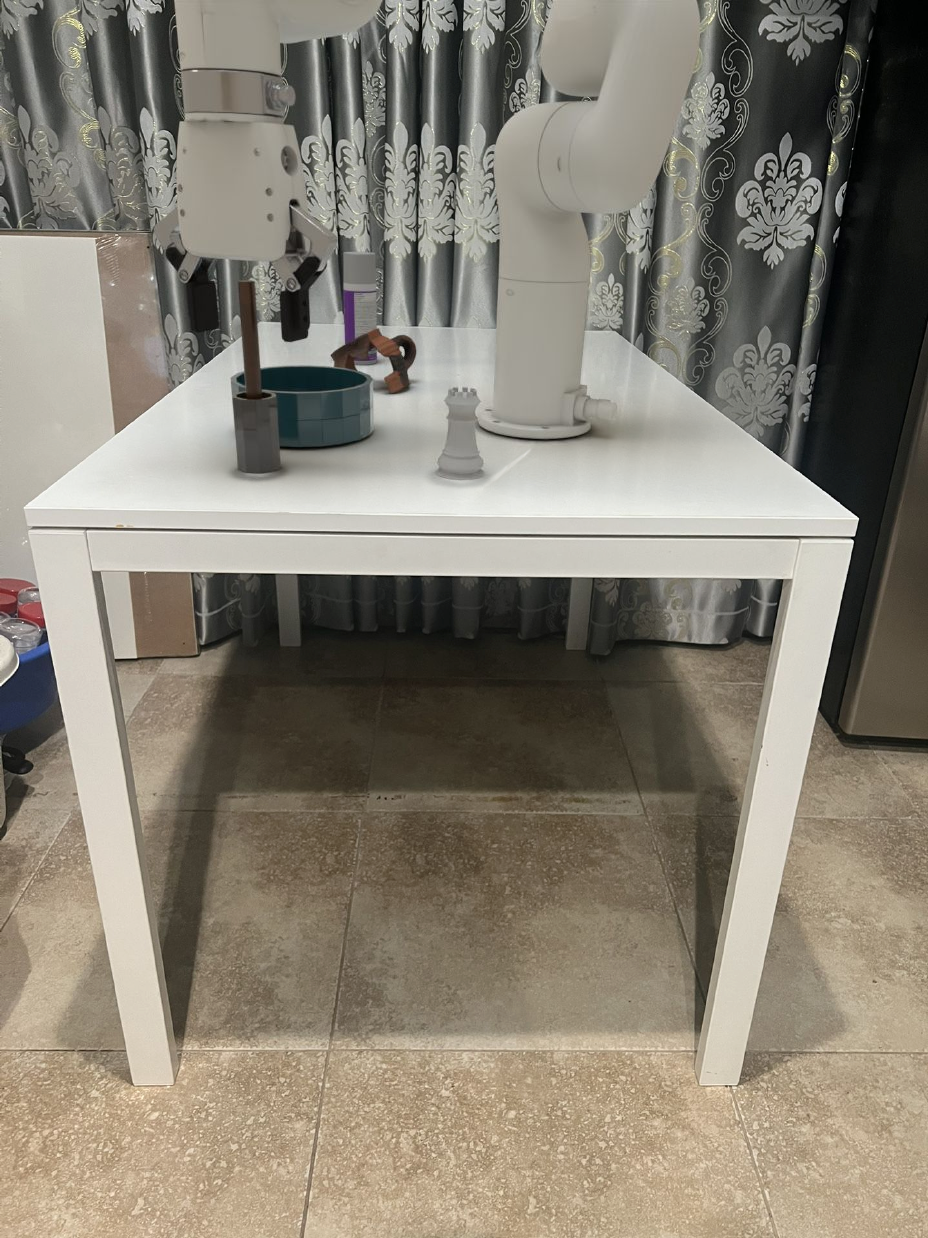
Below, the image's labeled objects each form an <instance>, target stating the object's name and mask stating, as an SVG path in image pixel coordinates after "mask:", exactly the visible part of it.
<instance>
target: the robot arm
mask: <svg viewBox="0 0 928 1238" xmlns="http://www.w3.org/2000/svg"><path fill="white" fill-rule="evenodd" d="M173 1H174V13H175V22H176V23H175V24H176V32H177V34H176V35H177V44H178V45H177V46H178V55H179V56H178V57H179V67H180V78H181V90H182V101H183V112H184V120H183V121H179V125H178V133H177V134H178V135H177V144H176V145H177V146H176V147H177V148H176V205H177V206H176V207H175V208H174V209H172V210H171V211H169V213H168V214H166V215H165V216H164V217H162V219H160V220H159V221H158V222H157V223H156V224H154V226H153V233H154V235H155V237H156V239H157V241H158V242H159V244H160V246H161V248H162V249H163V251H165V258H166V260H167V261H168V262H169V264H171V266H172V268H174V270H175V271H176V272H177V278H178V280H179V281H180V282H181V283H183V284H185V292H186V300H187V301H186V302H187V312H188V317H189V325H190V330H191V332H192V333H197V334H199V333H204V332H205V333H206V332H209V331H214V330H215V331H216V330H217V329H218V328H219V327H220V318H219V307H218V293H217V285H216V282H215V280H210V278H209V277H210V275H211V274H212V273H213V270H214V268H215V266H216V264H217V262H218V260H219V259H220V260H221V259H222V260H232V261H233V260H234V261H249V262H262V263H263V262H268V263H269V262H270V264H271V266H272V267H273V269H274V270H275V272H276V274H277V276H278V277H279V278H280V280H281V281H282V283H283V285H284V286H285V287H284V288H285V290H280V293H279V311H280V312H279V313H280V332H281V340H282V341H284V342H285V343H294V342H297V341H302V340H306V339H308V337H309V329H310V327H311V310H310V290H312V289H313V288H314V287H315V286H316V285H315V284H316V281H317V280H319V278H320V277H321V276H322V275H323V273H324V272H325V270H326V269H327V267H328V261H329V260H330V259H331V257H332V254H333V253H334V250H335V248H336V246H337V244H338V237H337V235H336V234H335V233H334V232H333V231H331V230H330V229H329V228H327V227H326V226H325V225H324V224H322V222H320V221H318V220H317V219H316V218H315V217H314V216H313V215H311V214H310V213H309V202H308V194H307V187H306V179H305V173H304V165H303V161H302V157H301V155H302V154H301V151H300V147H299V142H298V139H297V134H296V130H295V127H294V125H292V124H285V122H284V119H285V118H284V117H285V116H286V115H285V114H286V113H285V111H286V110H285V108H286V107H292V106H294V105H295V104H296V97H297V96H296V90H295V89H294V87H293V86H292V85H285V84H284V78H283V77H282V58H281V57H282V55H281V44H295V43H296V44H297V43H300V42H306V41H311V40H318V39H327V38H333V37H338V36H343V35H346V34H350V33H353V32H355V31H357V30H358V29H361V28H362V27H364V26H365V25H367V24H368V23H369V22H370V21H371V20H372V19H373V18H374V16H375V15H376V14H377V12H378V11H379V9H380V8H381V5H382V4H383V1H384V0H173ZM543 30H544V31H543V34H542V40H541V45H540V56H539V57H540V60H539V61H540V67H541V71H542V74H543V77H544V79H545V81H546V82H547V84H548V85H549V86H551V88H552V89H554V90H555V91H557V92H559V93H561V94H563V95H567V96H572V97H579V98H580V97H583V98H593V97H598V98H597V100H583V101H581V100H573V101H570V100H569V101H553V102H543V103H537V104H533V105H531V106H527V107H525V108H523V109H521V110H519V111H517V112H516V113H515V114H513V115H512V116H510V118H509V119H508V120H507V121H506V123H505V124H504V125H503V127H502V128H501V129H500V132H499V135H498V136H497V138H496V142H495V145H494V149H493V162H492V163H493V179H494V186H495V194H496V201H497V209H498V222H499V226H498V227H499V250H498V251H499V253H498V255H499V257H498V258H499V259H498V279H497V280H498V281H497V302H496V303H497V306H496V325H495V351H494V372H493V390H492V391H493V394H492V406H488V407H485V408H483V409H481V410H480V411H479V412H478V416H477V418H478V419H477V423H478V425H479V426H480V427H481V428H483V429H484V430H486V431H489V432H491V433H495V434H499V435H502V436H506V437H514V438H521V439H522V438H523V439H534V440H535V439H536V440H540V439H541V440H553V439H564V438H565V439H566V438H571V437H577V436H580V435H584V434H586V433H587V432H589V431H590V430H591V425H592V419H597V420H600V421H609V422H614V421H615V420H616V416H617V411H618V405H617V402H612V399H604V398H591V395H588V385H587V384H581V381H582V380H581V379H582V368H583V356H584V344H585V334H586V333H585V331H586V322H587V321H586V320H587V310H588V309H587V308H588V295H589V285H590V275H591V264H592V263H591V261H592V259H591V247H590V241H589V236H588V233H587V229H586V226H585V222H584V219H583V216H582V213H585V214H598V215H600V214H603V215H613V214H614V215H615V214H621V213H625V212H629V211H630V210H632V209H634V208H636V207H637V206H638V205H640V204H641V203H642V202H643V201H644V199H645V198H646V197H647V196H648V194H649V193H650V192H651V190H652V188H653V186H654V184H655V183H656V180H657V178H658V176H659V174H660V172H661V168H662V166H663V163H664V160H665V157H666V156H667V155H666V154H667V151H668V149H669V146H670V143H671V140H672V137H673V135H674V131H675V128H676V125H677V122H678V119H679V117H680V112H681V111H682V107H683V104H684V101H685V98H686V95H687V92H688V89H689V86H690V83H691V80H692V77H693V74H694V70H695V67H696V64H697V59H698V54H699V49H700V41H701V16H700V9H699V4H698V1H697V0H552V4H551V7H550V9H549V13H548V17H547V19H546V24H545V26H544V29H543ZM308 254H309V255H308ZM307 255H308V256H307ZM306 256H307V257H306ZM304 257H305V258H304ZM303 258H304V259H303Z"/></svg>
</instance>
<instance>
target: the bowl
mask: <svg viewBox="0 0 928 1238" xmlns="http://www.w3.org/2000/svg"><path fill="white" fill-rule="evenodd" d="M260 368H261V384H262V391H267V392H271V393H275V394H276V397H277V413H278V430H279V447H290V448H313V447H315V448H316V447H328V446H336V445H344V444H348V443H351V442H355V441H359V440H362V439H364V438H367V437H368V436H371V434H372V433H373V431H374V430H375V417H374V416H375V413H374V412H375V411H374V410H375V409H374V408H375V406H374V378H373V377H372V375H371V374H369V373H365V372H363V371H360V370H358V371H356V370H352V369H347V368H339V367H334V366H330V365H308V364H306V365H305V364H303V365H299V364H298V365H277V366H265V367H260ZM230 389H231V395H232V394H235V393H238V392H244V391H246V388H245V375H244V370H243V371H240V372H237V373H235V374H234V375H232V376H231V377H230ZM231 402H232V401H231ZM232 404H233V402H232ZM232 414H233V413H232ZM233 416H234V414H233ZM233 426H234V425H233ZM234 429H235V426H234Z"/></svg>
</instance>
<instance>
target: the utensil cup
mask: <svg viewBox="0 0 928 1238" xmlns="http://www.w3.org/2000/svg"><path fill="white" fill-rule="evenodd" d="M231 402H233V403H232V414H234V415H233V426H235V428H234V438H235V451H236V461H237V462H236V463H237V470H239V471H240V472H242V473H245V474H256V475H257V474H269V473H270V474H271V473H273V472H277V471H278V470H280V469H282V465H281V449H280V447H281V446H279V430H278V413H277V397H276V394H275V393H271V392H267V391H262V399H246V391H244V392H238V393H235V394H232V393H231Z"/></svg>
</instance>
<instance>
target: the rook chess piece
mask: <svg viewBox="0 0 928 1238" xmlns="http://www.w3.org/2000/svg"><path fill="white" fill-rule="evenodd" d="M447 391H448V393H447V396H446V397H445V398H444V400H443V401H444V403H445V405H446V406H447V409H448V414H447V415H446V420H447V425H448V426H447V434H446V440H445V445H444V448H443V449H442V450H441V454H440V455H439V457H438V458H437V460H436V464H437V465H438V466H439V467H438V469H437V470H436V471H435V473H436V474H437V476H439V477H441V478H444V479H448V480H455V481H457V480H458V481H471V480H476V479H479V478H482V477H484V475H485V471H483V469H482V468H483V467H484V465H485V460H484V459H483V457H482V456H481V454H480V453H481V451H480V450H479V448H478V444H477V435H476V421H478V416H477V415H476V410H477V408H478V407H479V405H480V403H481V402H482V401H481V399H480V397H479V396H478V390H477V389H476V388H474V387H470V389H469V387H468V386H462V390H461V391H459V387H458V386H454V387H452V388H451V387H449V388H448V390H447Z"/></svg>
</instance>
